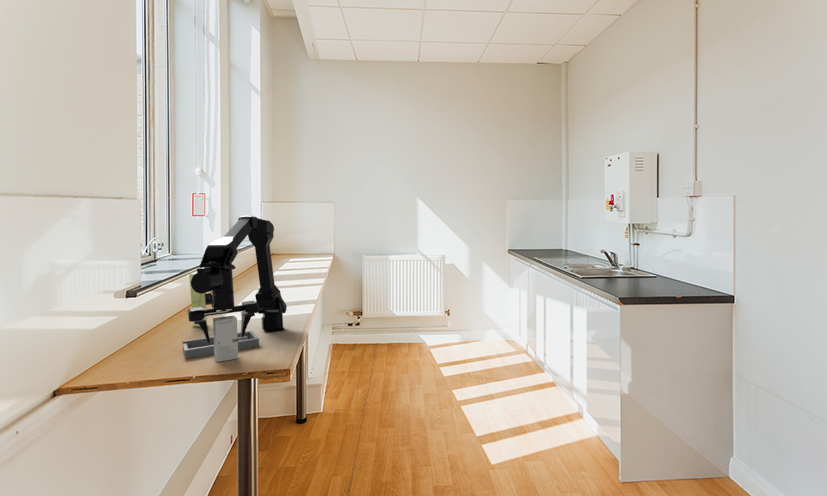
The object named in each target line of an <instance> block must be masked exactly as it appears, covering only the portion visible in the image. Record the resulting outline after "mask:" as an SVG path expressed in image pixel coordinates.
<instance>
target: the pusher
mask: <svg viewBox="0 0 827 496" xmlns="http://www.w3.org/2000/svg"><path fill="white" fill-rule="evenodd" d="M247 339H248V336H244V337H238V341H241V340H247Z"/></svg>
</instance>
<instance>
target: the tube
mask: <svg viewBox="0 0 827 496" xmlns="http://www.w3.org/2000/svg"><path fill="white" fill-rule="evenodd" d="M195 274H196V273H195ZM195 274H194V273H188V279H189V288H190V290H189V291H190V302H191V308H196V307H203V309H204V310H206V309H207V305H205V295H204V294H207V292H206V293H203V294H200V293H197V292H195V291H194V290H193V288H192V286H191V280H192V277H193V276H194V275H195ZM205 320H206V323H207V324H208V316H205ZM192 327H195V328H196V327H197V328H198V327H200V325H199V324H195V323H194V321H193V322H192Z"/></svg>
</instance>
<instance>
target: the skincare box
mask: <svg viewBox="0 0 827 496" xmlns="http://www.w3.org/2000/svg"><path fill="white" fill-rule="evenodd" d="M212 326H213V327H212V332H213V336H214V354H213V355H214V356H213V357H214V359H215V361H216V363H218V362H219V363H220V362H224V361H225V362H226V361H230V360H235V359H236V360H237V359H239V350H238V337H237V333H238V318H237V317H236V316H234V315H226V316H220V317H213V318H212Z"/></svg>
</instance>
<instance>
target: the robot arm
mask: <svg viewBox="0 0 827 496" xmlns="http://www.w3.org/2000/svg"><path fill="white" fill-rule="evenodd" d="M274 232H275V227H274V224H273V223H272V222H271V220H267V219H262V218H259V217H257V216H254V215H241V216H239V217H238V219H237V222H235V224H234V225H233V226H231V228H230V229H229V230H228V232H226V233H225V235H224V236H223V237H221V238H219V239H215V240H213V241H211V242H210V243H209V244H207V247H206V248H205V250H204V252H203V255H202V259H201V262H200V264H199V267H198V268H196V273H195V275H194V276H193V277H192V280H191V286H192V288H193V290H194V291H195V292H197V293H200V294H203V293H206V294H204V295H205V305H206V306H209V305H210V306H211V308H206V310H204V309H203V307H196V308H192V307H190V308H188V309H187V320H188V321H189V322H192V323H193V321H194V323H195V324H199V325H200V326H199V327H200V329H201V330H202V331H203V334H204V336H205V337H204V338H206V339H207V341H208V343H209V342H210V340H209V337H210V335H209V330H208V322H207V323H206V320H205V316H207V317H208V316H217V315H224V314H231V313H239V312H240V314H241V321H240V322H241V323H240V325H241V326H240V332H241V337H244V334H245V332H246V330H247V328H248V325H249V322H250V321H251V318H252V317H255V316H256V315H255V314H259V315H260V314H262V316H261V329H262V330H263V331H264V332H265V333H272V332H278V331H284V330H285V327H284V320H283V314H286V313H287V312H286V311H287V307H288V306H287V304H286V302H285V301H284V298H283V297H282V294H281V290H280V289H279V288H278V287H277V285H276V284H275V278H274V277H275V275H274V270H273V262H272V261H273V260H272V253H271V252H272V251H271V243H272V241H273V239H274V235H275V234H274ZM246 238H248V241H249V242H250V243H251V245H252V246H253V247H254V250H255V258H256V259H255V260H256V265H257V273H258V280H259V289H258V291H257V293H255V294H254V295H255V296H254V297H255V300H248V301H241V304H240V305H235V297H234V295H235V293H234V278H233V270H235V269H236V266H235V264H233V262H234V261H235V259H236V257H237V255H238V248H239V246H240V245H241V244H242V243H243V241H244V240H245V239H246Z"/></svg>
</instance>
